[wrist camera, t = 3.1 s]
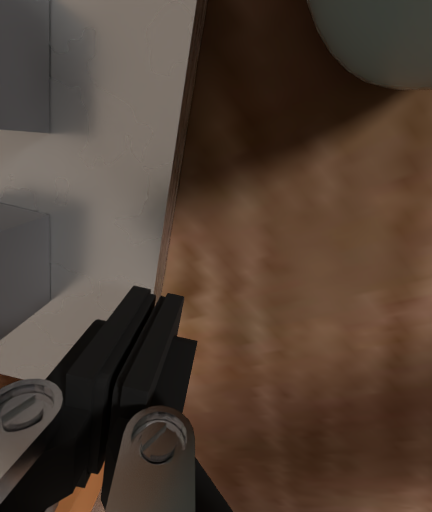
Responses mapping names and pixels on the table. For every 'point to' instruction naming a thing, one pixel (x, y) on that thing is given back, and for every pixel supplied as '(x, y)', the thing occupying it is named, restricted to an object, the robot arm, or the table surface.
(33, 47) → the toggle
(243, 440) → the table surface
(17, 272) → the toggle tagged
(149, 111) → the panel
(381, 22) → the cup
